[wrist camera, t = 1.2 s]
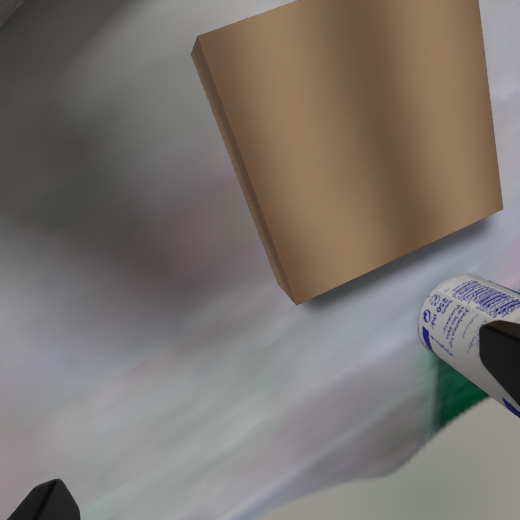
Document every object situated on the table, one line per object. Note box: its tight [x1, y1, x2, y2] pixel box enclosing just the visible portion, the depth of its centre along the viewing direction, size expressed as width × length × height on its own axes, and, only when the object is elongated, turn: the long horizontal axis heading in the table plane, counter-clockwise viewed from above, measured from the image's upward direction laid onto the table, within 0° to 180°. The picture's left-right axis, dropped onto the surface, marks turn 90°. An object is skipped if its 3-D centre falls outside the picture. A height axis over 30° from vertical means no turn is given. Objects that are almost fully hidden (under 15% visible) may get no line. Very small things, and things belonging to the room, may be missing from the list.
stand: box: [191, 0, 503, 305], centre depth 18 cm, size 12×12×3 cm
